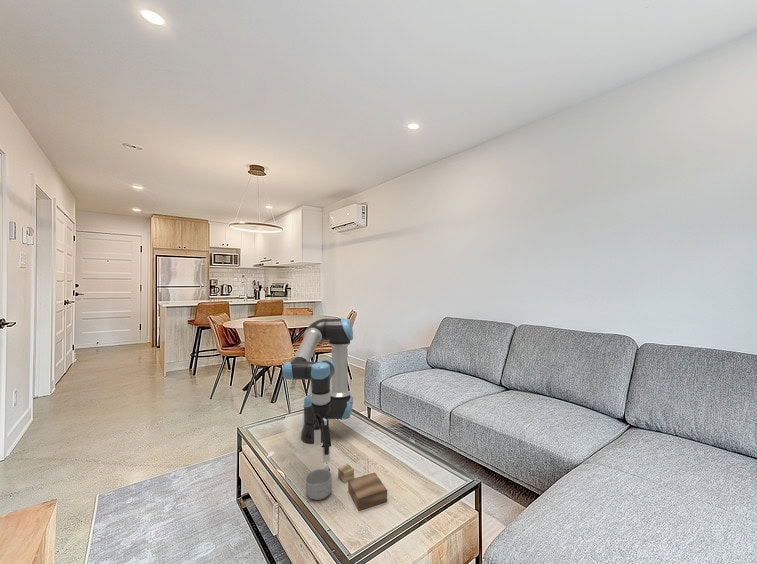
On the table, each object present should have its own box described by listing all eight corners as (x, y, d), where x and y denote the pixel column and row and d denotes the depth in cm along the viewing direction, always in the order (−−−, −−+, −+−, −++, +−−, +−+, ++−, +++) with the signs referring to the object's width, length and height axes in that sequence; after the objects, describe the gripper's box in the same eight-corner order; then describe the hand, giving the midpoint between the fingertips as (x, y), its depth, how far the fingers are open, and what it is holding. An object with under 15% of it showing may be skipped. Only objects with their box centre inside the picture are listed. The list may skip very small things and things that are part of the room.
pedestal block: (348, 491, 135) (348, 479, 135) (375, 483, 140) (375, 472, 140) (358, 511, 124) (358, 498, 124) (387, 502, 129) (387, 489, 129)
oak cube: (338, 479, 144) (338, 467, 144) (347, 474, 148) (347, 463, 147) (344, 484, 141) (344, 473, 140) (354, 480, 144) (353, 468, 143)
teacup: (319, 508, 127) (319, 488, 126) (299, 498, 133) (299, 478, 132) (342, 487, 139) (342, 469, 138) (322, 479, 144) (322, 461, 144)
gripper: (305, 392, 144) (306, 440, 145) (319, 415, 121) (320, 472, 122) (322, 390, 147) (322, 436, 148) (339, 412, 124) (339, 467, 125)
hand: (321, 452), depth 135 cm, fingers open, 13 cm apart
